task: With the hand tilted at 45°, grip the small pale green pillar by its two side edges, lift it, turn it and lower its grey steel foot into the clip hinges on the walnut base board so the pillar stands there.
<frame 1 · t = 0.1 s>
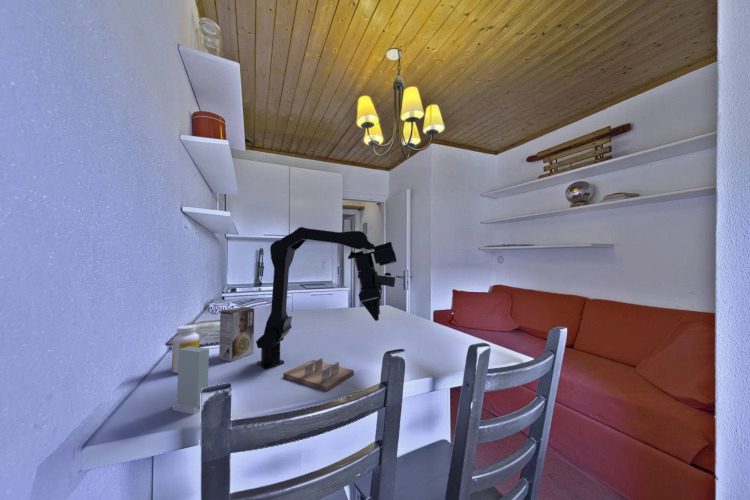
hand: (377, 317, 84), 15 cm above the table, tool pointing down, fingers open, 9 cm apart
hinge base: (321, 378, 75), on the table
supplement bottle: (185, 370, 80), on the table
pale green pillar: (191, 407, 60), on the table
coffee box: (236, 356, 92), on the table
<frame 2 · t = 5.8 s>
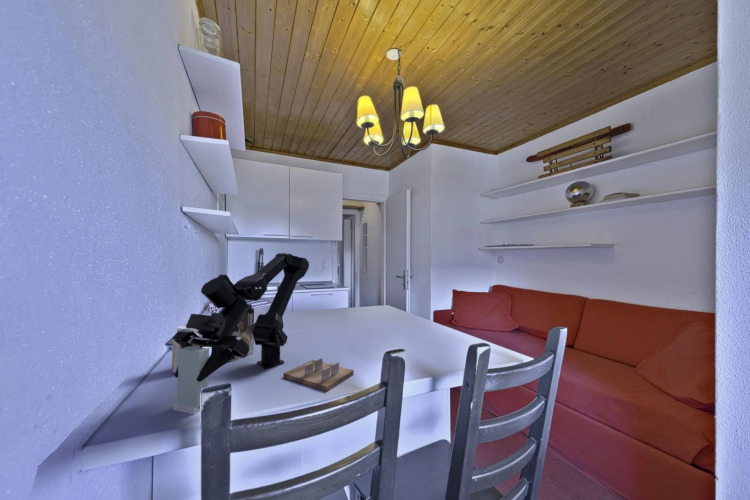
hand: (187, 379, 59), 7 cm above the table, tool tilted 45°, fingers closed on pale green pillar, 6 cm apart
pale green pillar: (191, 407, 60), on the table, touching gripper
everything else where it was.
when the fingers open (9 cm above the table, at t = 10.9 s): pale green pillar drops 1 cm, resting on hinge base.
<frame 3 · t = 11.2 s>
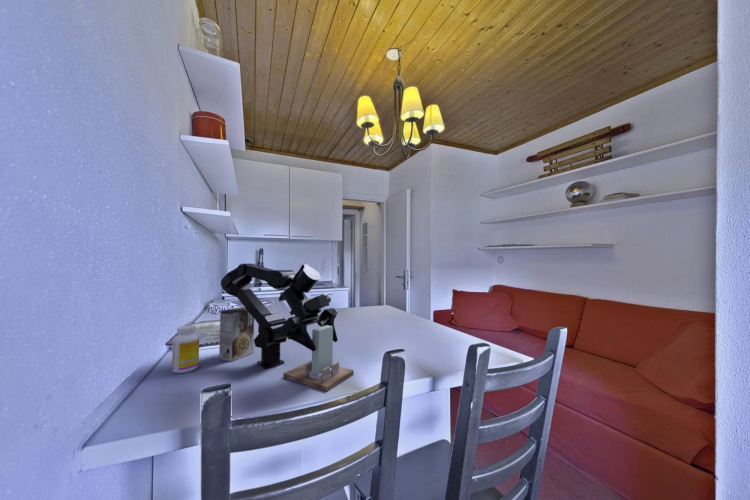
hand: (326, 345, 74), 9 cm above the table, tool tilted 45°, fingers open, 9 cm apart
pale green pillar: (322, 374, 75), point 1 cm above the table, touching hinge base
everything else where it was.
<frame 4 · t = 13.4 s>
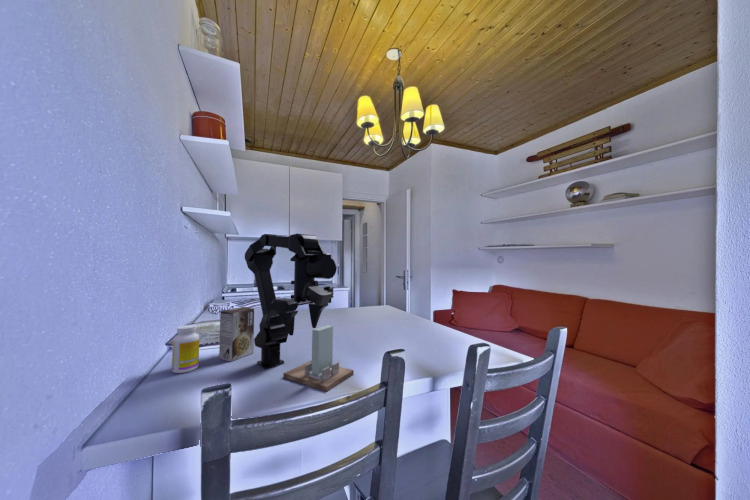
hand: (303, 331, 76), 13 cm above the table, tool pointing down, fingers open, 9 cm apart
nothing on the table moved.
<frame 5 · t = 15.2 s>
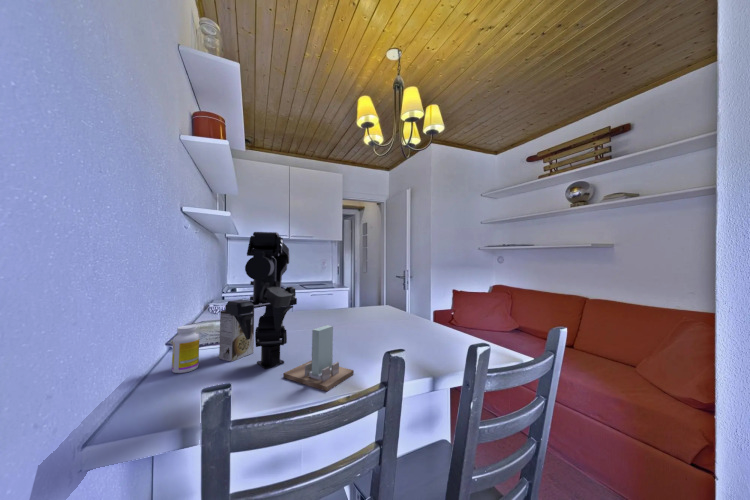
hand: (263, 335, 72), 13 cm above the table, tool pointing down, fingers open, 9 cm apart
nothing on the table moved.
at the end: pale green pillar 0.0 cm off-centre on the hinge base, point 1.2 cm above the hinge base's base; pale green pillar tilted 0°; the gripper is holding nothing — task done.
